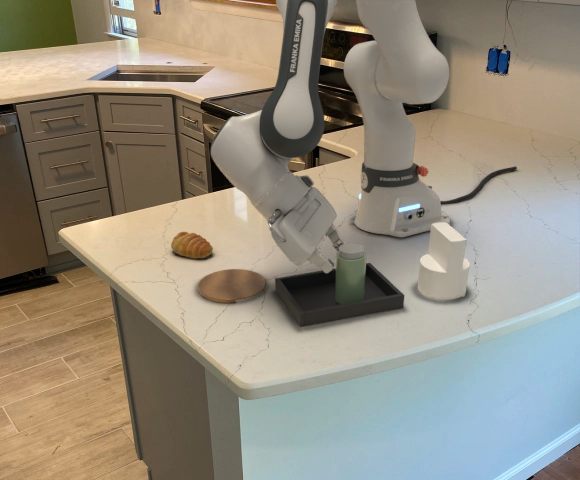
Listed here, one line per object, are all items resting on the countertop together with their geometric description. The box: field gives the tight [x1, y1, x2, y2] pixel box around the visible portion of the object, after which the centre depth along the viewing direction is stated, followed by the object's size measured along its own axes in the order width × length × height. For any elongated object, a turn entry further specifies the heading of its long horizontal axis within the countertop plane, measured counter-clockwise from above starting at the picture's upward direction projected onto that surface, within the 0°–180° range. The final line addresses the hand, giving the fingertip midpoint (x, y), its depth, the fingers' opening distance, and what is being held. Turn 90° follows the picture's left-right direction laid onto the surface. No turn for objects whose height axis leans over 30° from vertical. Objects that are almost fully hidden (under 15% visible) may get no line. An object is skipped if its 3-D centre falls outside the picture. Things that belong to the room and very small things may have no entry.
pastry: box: [170, 231, 214, 259], centre depth 135 cm, size 9×7×4 cm
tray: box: [274, 262, 405, 328], centre depth 115 cm, size 20×15×3 cm
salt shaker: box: [335, 242, 367, 304], centre depth 113 cm, size 5×5×10 cm
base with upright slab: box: [417, 222, 471, 301], centre depth 115 cm, size 9×9×12 cm
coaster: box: [197, 268, 266, 304], centre depth 121 cm, size 13×13×1 cm
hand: (337, 258), depth 112 cm, fingers open, 8 cm apart
